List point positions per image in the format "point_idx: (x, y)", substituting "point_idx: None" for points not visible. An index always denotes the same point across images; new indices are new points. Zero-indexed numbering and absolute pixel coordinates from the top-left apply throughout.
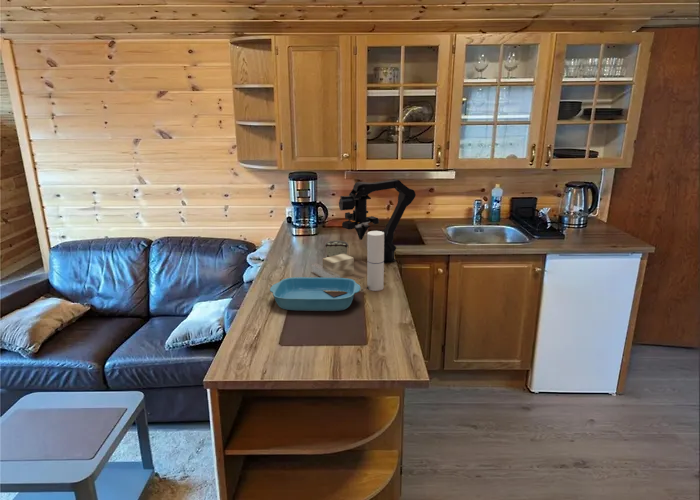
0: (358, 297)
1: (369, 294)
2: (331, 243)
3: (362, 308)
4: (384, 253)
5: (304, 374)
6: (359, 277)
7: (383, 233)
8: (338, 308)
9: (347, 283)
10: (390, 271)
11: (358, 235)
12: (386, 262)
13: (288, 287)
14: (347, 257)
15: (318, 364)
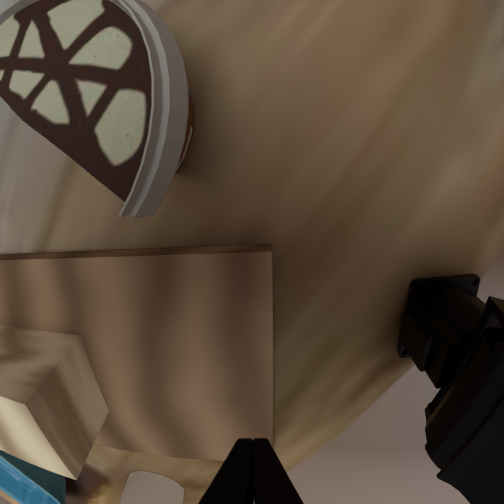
0: (84, 481)
1: (119, 491)
2: (26, 33)
3: (82, 500)
4: (428, 371)
5: (3, 496)
6: (120, 443)
7: None
8: (30, 484)
9: (47, 481)
10: (318, 436)
11: (206, 498)
12: (399, 355)
13: None
14: (42, 456)
15: (13, 500)
